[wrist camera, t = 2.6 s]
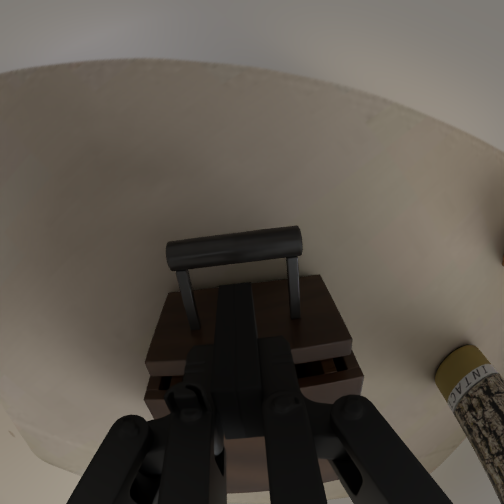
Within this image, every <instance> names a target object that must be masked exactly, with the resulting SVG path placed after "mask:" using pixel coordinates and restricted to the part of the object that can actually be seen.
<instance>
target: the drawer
mask: <svg viewBox="0 0 504 504" xmlns="http://www.w3.org/2000/svg"><path fill="white" fill-rule="evenodd" d="M302 250H303V246H302V237H301V232H300V229H299V227H298V226H288V227H279V228H271V229H263V230H255V231H246V232H238V233H230V234H223V235H215V236H207V237H199V238H192V239H184V240H177V241H169V242H168V243H167V245H166V258H167V263H168V266H169V268H170V270H171V271H176V275H177V279H178V283H179V288H180V291H179V292H169V293H168V295H167V298H166V301H165V303H164V306H163V309H162V312H161V315H160V318H159V320H158V323H157V326H156V329H155V332H154V335H153V338H152V341H151V344H150V347H149V350H148V353H147V356H146V359H145V364H146V367H147V369H148V371H149V374H150V376H152V377H153V376H172V378H171V383H170V387H171V386H173V385H175V384H177V383H179V382H182V381H183V375H184V369H185V366H186V358H187V354H188V352H189V351H190V350H191V348H192V347H193V346H194V345H206V344H214V335H215V323H216V311H217V300H218V289H219V287H215V288H207V289H198V290H193V289H192V284H191V280H190V275H189V271H188V269H195V268H203V267H212V266H220V265H228V264H236V263H244V262H253V261H261V260H269V259H277V258H285V257H286V268H287V279H281V280H274V281H266V282H258V283H251V287H252V295H253V302H254V310H255V317H256V325H257V333H258V338H264V337H272V336H280V335H282V336H283V337H284V338H285V339H286V340H287V341H288V342H289V344H290V348H291V353H292V357H293V361H294V365H295V370H296V374H297V379H299V378H305V377H311V376H317V375H323V374H328V373H334V372H337V370H336V367H335V364H334V362H333V359H332V358H336V357H341V356H347V355H350V354H351V349H352V337H351V335H350V333H349V331H348V329H347V327H346V325H345V323H344V321H343V319H342V317H341V315H340V313H339V311H338V309H337V307H336V305H335V303H334V301H333V299H332V297H331V295H330V293H329V291H328V289H327V287H326V285H325V283H324V282H323V280H322V278H321V276H320V275H312V276H304V277H299V269H298V257H297V256H300V255H302Z"/></svg>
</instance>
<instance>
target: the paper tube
mask: <svg viewBox="0 0 504 504" xmlns="http://www.w3.org/2000/svg"><path fill="white" fill-rule="evenodd" d="M435 383H436V385H437V387H438V388H439V390H440V392H441V393H442V395H443V397H444V398H445V400H446V402H447V403H448V405H449V407H450V409H451V410H452V412H453V414H454V415H455V417H456V419H457V420H458V422H459V424H460V426H461V427H462V429H463V431H464V433H465V434H466V436H467V438H468V440H469V442H470V443H471V445H472V447H473V449H474V451H475V452H476V454H477V456H478V458H479V460H480V462H481V464H482V466H483V468H484V470H485V472H486V473H487V475H488V478H489V480H490V481H491V483H492V486H493V488H494V490H495V492H496V494H497V496H498V498H499V500H500V502H501V504H504V379H503V378H502V377H501V376H500V374H499V373H498V372H497V370H496V369H495V368H494V367H493V366H492V365H491V363H490V362H489V361H488V360H487V358H486V357H485V356H484V355H483V354H482V352H481V351H480V350H479V349H478V348H477V347H476V346H473V345H466V346H463V347H460V348H458V349H457V350H455V351H454V352H452V353H451V354H450V355H449V356H448V357H447V358H446V359H445V360H444V361H443V362H442V364H441V365H440V366H439V368H438V370H437V372H436V376H435Z"/></svg>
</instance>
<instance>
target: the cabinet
mask: <svg viewBox="0 0 504 504" xmlns="http://www.w3.org/2000/svg"><path fill="white" fill-rule="evenodd" d="M332 359H333V362H334V364H335V367H336V370H337V372H334V373H328V374H323V375H317V376H311V377H305V378H299V379H298V383H299V387H300V390H301V393H302V394H303V395H304V396H305V397H306V398H308V399H309V400H312V401H314V402H319V403H328V404H333V403H334V402H335V401H336V400H337V399H339V398H340V397H342V396H346V395H350V394H352V395H360V396H361V390H362V385H363V379H364V375H363V373H362V370H361V368H360V367H359V364H358V362H357V360H356V358H355V356H354V353H353V351H352V349H351V354H350V355H347V356H341V357H336V358H332ZM171 378H172V376H153V377H152V376H150V379H149V382H148V386H147V391H146V393H145V397H144V401H145V403H146V405H147V407H148V409H149V410H150V412H151V414H152V416H153V418H154V420H155V419H158V418H162V417H164V416H167V415H168V414H170V411H169V409H168V407H167V405H166V402H165V400H164V398H163V396H164V394H165V392H166V391H167V390H168V389H169V388H170V383H171ZM224 446H225V449H226V475H227V494H228V493H248V492H260V491H270V490H269V480H268V469H267V459H266V448H265V437H264V436H263V437H253V438H242V439H228V440H226V438H225V435H224ZM318 462H319V467H320V471H321V476H322V481H323V483H324V482H329V481H334V480H339V478H338V477H337V475H336V473H335V472H334V470H333V468H332V467H331V465H330V463H329V462H328V460H327V459H318Z"/></svg>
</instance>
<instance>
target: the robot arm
mask: <svg viewBox="0 0 504 504" xmlns="http://www.w3.org/2000/svg"><path fill="white" fill-rule="evenodd" d="M163 398H164V400H165V402H166V405H167V407H168V409H169V411H170V414H168V415H167V416H164V417H162V418H158V419H155V420H151V421H147V422H146V420H145V419H144V418H143V417H140V416H138V415H127V416H123V417H121V418H120V419H118V420H117V421H116V422H115V423H114V424H113V425H112V427H111V429H110V430H109V432H108V434H107V435H106V437H105V439H104V440H103V442H102V444H101V445H100V447H99V449H98V450H97V452H96V454H95V455H94V457H93V459H92V460H91V462H90V464H89V465H88V467H87V469H86V471H85V472H84V474H83V476H82V477H81V479H80V481H79V483H78V485H77V486H76V488H75V489H74V491H73V493H72V495H71V496H70V498H69V500H68V502H67V503H66V504H227V475H226V449H225V446H224V435H225V438H226V440H228V439H242V438H253V437H263V436H264V437H265V448H266V459H267V469H268V480H269V490H270V501H271V504H327V500H326V495H325V490H324V485H323V481H322V476H321V471H320V467H319V462H318V459H327V460H328V462H329V463H330V465H331V467H332V468H333V470H334V472H335V473H336V475H337V477H338V478H339V480H340V482H341V483H342V485H343V487H344V488H345V490H346V492H347V493H348V495H349V497H350V498H351V500H352V502H353V503H354V504H453V503H452V502H451V500H450V499H449V498H448V497H447V496H446V494H445V493H444V492H443V491H442V489H441V488H440V487H439V486H438V485H437V483H436V482H435V481H434V479H433V478H432V477H431V476H430V474H429V473H428V472H427V471H426V469H425V468H424V467H423V466H422V464H421V463H420V462H419V461H418V459H417V458H416V457H415V456H414V455H413V453H412V452H411V451H410V450H409V448H408V447H407V446H406V445H405V443H404V442H403V441H402V440H401V438H400V437H399V436H398V435H397V433H396V432H395V431H394V430H393V429H392V427H391V426H390V425H389V424H388V422H387V421H386V420H385V419H384V417H383V416H382V415H381V414H380V412H379V411H378V410H377V409H376V407H375V406H374V405H373V404H372V402H371V401H369V400H368V399H367V398H366V397H363V396H360V395H352V394H350V395H346V396H342V397H340V398H339V399H337V400H336V401H335V402H334V403H333V404H328V403H319V402H314V401H312V400H309V399H308V398H306V397H305V396H304V395H303V394H302V393H301V390H300V387H299V383H298V379H297V374H296V370H295V365H294V361H293V357H292V353H291V348H290V344H289V342H288V341H287V340H286V339H285V338H284V337H283V336H282V335H280V336H272V337H264V338H258V333H257V325H256V317H255V310H254V302H253V295H252V287H251V282H248V283H239V284H231V285H223V286H219V289H218V300H217V311H216V323H215V335H214V344H206V345H194V346H193V347H192V348H191V350H190V351H189V352H188V354H187V358H186V366H185V369H184V375H183V381H182V382H179V383H177V384H175V385H173V386H171V387H170V388H169V389H168V390H167V391H166V392H165V394H164V396H163Z"/></svg>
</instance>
